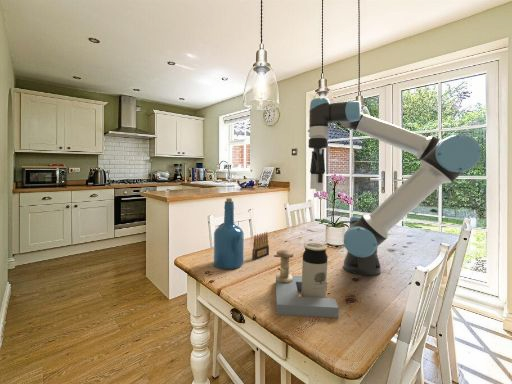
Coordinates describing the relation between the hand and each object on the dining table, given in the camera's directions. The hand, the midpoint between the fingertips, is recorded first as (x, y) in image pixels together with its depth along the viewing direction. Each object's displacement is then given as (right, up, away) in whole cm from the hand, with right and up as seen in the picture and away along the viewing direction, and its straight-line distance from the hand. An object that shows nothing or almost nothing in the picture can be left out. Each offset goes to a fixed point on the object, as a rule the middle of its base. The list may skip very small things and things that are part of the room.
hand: (316, 190), depth 107 cm
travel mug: (-6, -37, -21) cm, 42 cm away
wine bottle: (-37, -34, +8) cm, 51 cm away
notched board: (-9, -36, -20) cm, 43 cm away
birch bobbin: (-15, -33, -13) cm, 38 cm away
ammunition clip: (-23, -33, +19) cm, 44 cm away
